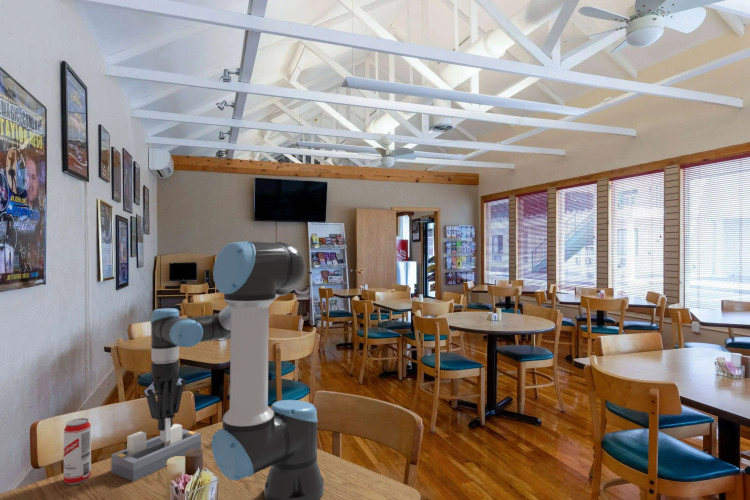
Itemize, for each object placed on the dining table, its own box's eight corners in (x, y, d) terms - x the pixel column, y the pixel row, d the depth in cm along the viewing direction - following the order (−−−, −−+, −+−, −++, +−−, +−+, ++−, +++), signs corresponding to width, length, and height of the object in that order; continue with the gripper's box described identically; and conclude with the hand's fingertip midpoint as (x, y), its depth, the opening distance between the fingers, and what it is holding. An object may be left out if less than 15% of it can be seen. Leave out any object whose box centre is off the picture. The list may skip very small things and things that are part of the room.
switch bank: (200, 450, 140) (200, 433, 140) (133, 481, 121) (133, 462, 121) (179, 443, 145) (179, 426, 145) (111, 472, 126) (111, 453, 126)
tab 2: (182, 444, 136) (182, 425, 136) (170, 450, 132) (170, 429, 132) (176, 443, 137) (176, 423, 137) (164, 448, 134) (164, 428, 134)
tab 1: (146, 453, 130) (146, 433, 130) (133, 459, 126) (133, 438, 126) (140, 451, 131) (140, 431, 131) (127, 457, 128) (127, 436, 128)
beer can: (77, 487, 118) (77, 426, 118) (57, 484, 119) (57, 425, 119) (96, 475, 124) (96, 418, 124) (77, 473, 125) (77, 416, 125)
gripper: (176, 354, 140) (176, 429, 140) (136, 364, 129) (136, 445, 128) (192, 357, 136) (192, 434, 136) (153, 367, 125) (153, 451, 125)
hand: (165, 439), depth 132 cm, fingers closed
